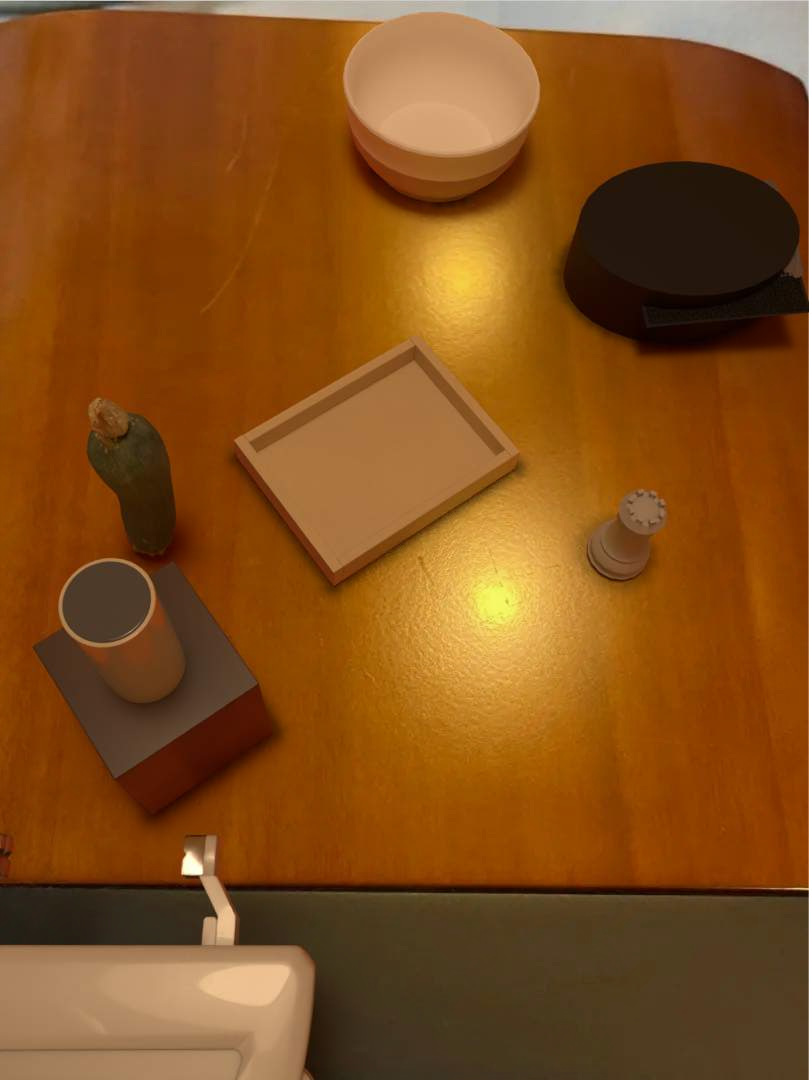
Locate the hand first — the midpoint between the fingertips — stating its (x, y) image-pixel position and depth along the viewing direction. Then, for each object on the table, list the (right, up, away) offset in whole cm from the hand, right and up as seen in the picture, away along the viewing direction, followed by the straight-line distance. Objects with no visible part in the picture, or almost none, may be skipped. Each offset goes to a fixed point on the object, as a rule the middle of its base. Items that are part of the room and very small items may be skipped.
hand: (98, 835), depth 45 cm
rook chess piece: (+29, +12, +27) cm, 42 cm away
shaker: (0, +7, +10) cm, 12 cm away
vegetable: (-3, +13, +26) cm, 29 cm away
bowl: (+17, +47, +42) cm, 65 cm away
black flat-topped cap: (+36, +35, +38) cm, 63 cm away
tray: (+12, +19, +29) cm, 37 cm away
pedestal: (-1, +2, +20) cm, 21 cm away
